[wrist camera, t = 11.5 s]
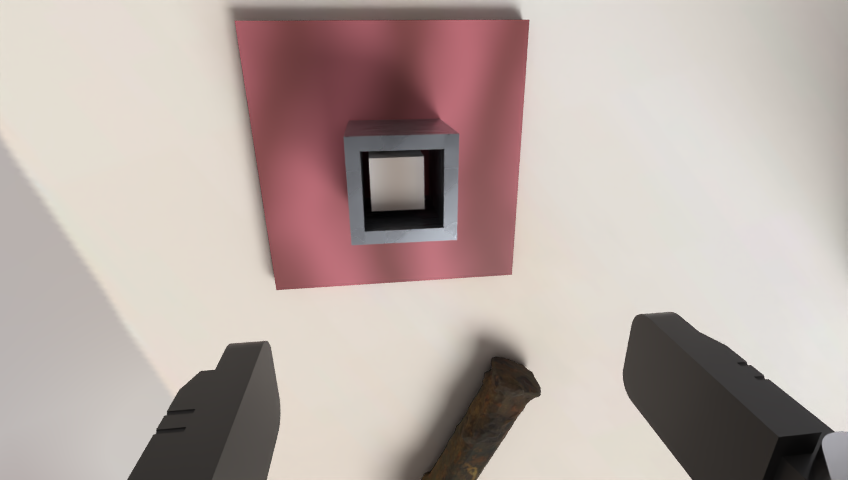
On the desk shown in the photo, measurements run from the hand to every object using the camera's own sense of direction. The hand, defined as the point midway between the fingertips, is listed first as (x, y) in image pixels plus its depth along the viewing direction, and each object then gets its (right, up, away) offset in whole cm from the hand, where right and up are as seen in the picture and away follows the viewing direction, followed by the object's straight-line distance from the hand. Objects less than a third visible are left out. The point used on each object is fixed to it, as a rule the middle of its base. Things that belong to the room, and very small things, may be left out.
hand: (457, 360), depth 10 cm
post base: (-3, +8, +18) cm, 20 cm away
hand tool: (+3, -15, +29) cm, 32 cm away
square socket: (-2, +7, +17) cm, 19 cm away
